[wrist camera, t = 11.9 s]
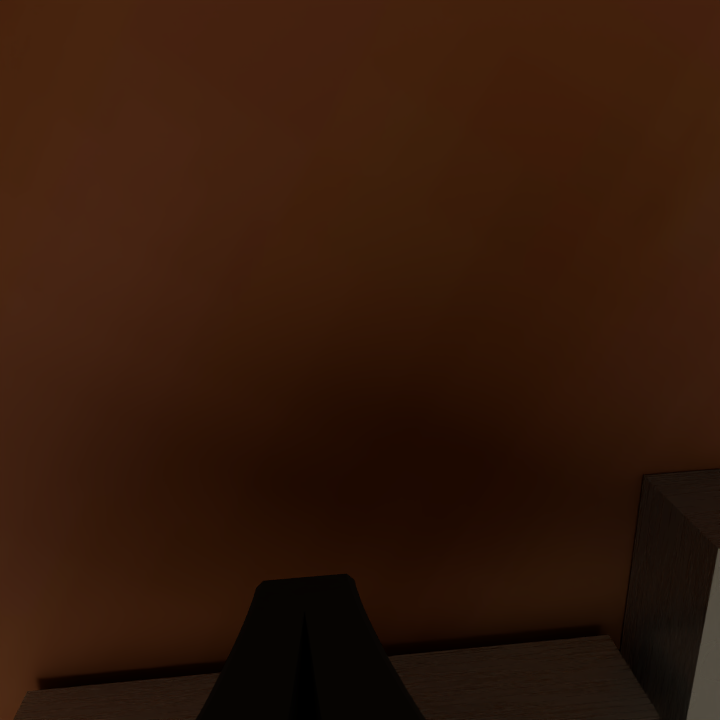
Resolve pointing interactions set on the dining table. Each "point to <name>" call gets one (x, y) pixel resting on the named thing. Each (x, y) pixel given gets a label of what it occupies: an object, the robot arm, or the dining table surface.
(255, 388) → the dining table surface
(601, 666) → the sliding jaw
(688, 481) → the vise body
